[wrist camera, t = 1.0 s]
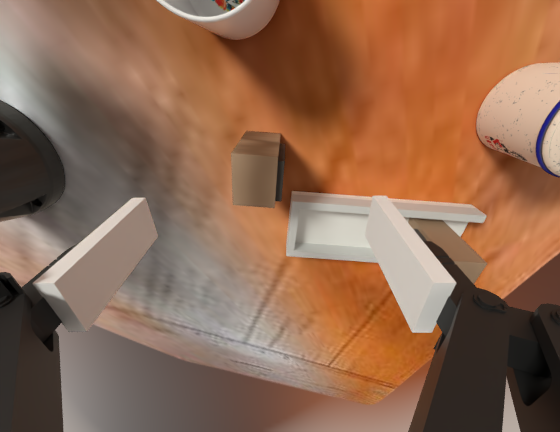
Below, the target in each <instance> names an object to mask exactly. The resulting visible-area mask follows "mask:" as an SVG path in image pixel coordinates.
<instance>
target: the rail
mask: <svg viewBox="0 0 560 432" xmlns="http://www.w3.org/2000/svg"><path fill="white" fill-rule="evenodd" d="M388 199H389V200H390V201H391V202H392V203H393V205H394V206H395V207H396V208H397V210H398V211H399V212H400V213H401V215H402V216H403V217H404V218H405V220H406V221H407V222H408V223H409V225H410V226H411V227H412V228H413V229H414V231H415V232H416V233H417V234H418V236H419V237H420V238H421V239H422V241H432V242H433V243H435V244H436V245H438V246H439V247H441V248H442V249H443V250H444V251H445V252H446V253H447V254H448V256H449V258H451V259H452V260H453V261H454V262H455V264H456V265H457V266H458V267H459V268H460V269H461V270H462V271H463V273H464V274H465V275H466V276H467V277H468V278H469V279H470V281H471V282H472V283H473V284H474V283H475V281H476V280H477V278H478V277H479V275H480V274H481V272H482V271H483V269H484V268H485V266H486V265H487V263H486V262H485V261H484V260H483V259H482V258H481V257H480V256H479V255H478V254H477V253H476V252H475V251H474V250H473V249H472V248H471V247H470V246H469V245H468V244H467V243H466V242H465V241H464V240H463V239H462V238H461V235H462V233H463V231H464V230H465V228H466V226H467V224H468V222H477V223H483V222H484V220H485V219H486V217H487V216H486V215H485V214H483V213H482V212H481V211H479V210H478V209H477V208H475V207H474V206H473V205H470V204H457V203H444V202H431V201H418V200H405V199H392V198H388ZM371 202H372V197H365V196H352V195H339V194H326V193H313V192H300V191H292V194H291V203H290V213H289V222H288V232H287V241H286V256H293V257H307V258H320V259H334V260H348V261H361V262H375V263H378V261H377V259H376V257H375V255H374V253H373V251H372V249H371V247H370V245H369V243H368V241H367V239H366V237H365V232H366V227H367V222H368V217H369V212H370V207H371Z"/></svg>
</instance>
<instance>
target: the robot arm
mask: <svg viewBox="0 0 560 432" xmlns="http://www.w3.org/2000/svg"><path fill="white" fill-rule="evenodd" d="M64 185H65V177H64V171H63V167H62V164H61V161H60V159H59V157H58V155H57V153H56V151H55V149H54V148H53V146H52V145H51V143H50V142H49V140H48V139H47V138H46V137H45V135H44V134H43V133H42V132H41V131H40V130H39V129H38V128H37V127H36V126H35V125H34V124H33V123H32V122H31V121H30V120H29V119H28V118H26V117H25V116H24V115H23V114H21V113H20V112H18V111H17V110H16V109H14V108H13V107H11V106H9V105H8V104H6V103H4V102H2V101H0V222H1V221H6V220H11V219H15V218H20V217H25V216H29V215H32V214H35V213H38V212H40V211H42V210H43V209H45V208H47V207H49V206H50V205H52V204H54V203H55V202H56V201H57V200H58V199H59V198H60V197H61V195H62V193H63V190H64ZM157 237H158V234H157V231H156V228H155V225H154V222H153V219H152V216H151V213H150V210H149V207H148V204H147V201H146V198H132V199H130V200H129V201H128V202H127V203H126V204H125V205H123V206H122V207H121V208H120V209H119V210H118V211H116V212H115V213H114V214H113V215H112V216H111V217H109V218H108V219H107V220H106V221H105V222H104V223H102V224H101V225H100V226H99V227H98V228H97V229H95V230H94V231H93V232H92V233H91V234H89V235H88V236H87V237H86V238H85V239H84V240H82V241H81V242H80V243H78V244H77V245H75V246H73V247H71V248H69V249H68V250H66V251H65V252H64V253H62V254H61V255H60V256H59V257H58V258H57V260H54V261H53V262H52V263H50V264H49V266H47V267H46V268H44V269H43V270H42V271H41V272H40V273H38V274H37V275H36V276H35V277H34V278H33V279H31V280H30V281H29V282H28V283H27V284H25V285H24V286H23V287H22V288H21V287H20V285H19V284H18V283H17V282H16V280H15V279H14V278H13V276H12V275H11V274H10V273H6V272H1V273H0V432H63V415H62V393H61V375H60V374H61V373H60V353H59V336H58V334H57V332H56V331H55V329H56V328H57V327H58V326H59V325H60V323H61V322H62V324H63V325H64V326H65V328H66V329H67V330H68V332H87V331H88V330H89V328H90V327H91V326H92V324H93V323H94V322H95V320H96V319H97V318H98V316H99V315H100V314H101V312H102V311H103V310H104V308H105V307H106V306H107V304H108V303H109V302H110V300H111V299H112V298H113V296H114V295H115V294H116V292H117V291H118V290H119V288H120V287H121V286H122V284H123V283H124V282H125V280H126V279H127V278H128V276H129V275H130V274H131V272H132V271H133V270H134V268H135V267H136V266H137V264H138V263H139V261H140V260H141V259H142V257H143V256H144V255H145V253H146V252H147V251H148V249H149V248H150V247H151V245H152V244H153V243H154V241H155V240H156V239H157ZM365 237H366V239H367V241H368V243H369V245H370V247H371V249H372V251H373V253H374V255H375V257H376V259H377V261H378V263H379V265H380V267H381V269H382V271H383V273H384V275H385V278H386V280H387V282H388V284H389V286H390V288H391V290H392V292H393V294H394V296H395V298H396V300H397V302H398V304H399V306H400V308H401V310H402V312H403V314H404V317H405V319H406V321H407V323H408V325H409V327H410V329H411V331H412V333H432V331H433V329H434V327H435V325H436V323H437V324H438V326H439V327H440V329H441V331H442V334H441V336H440V338H439V339H438V341H437V343H436V345H435V347H434V349H435V353H434V356H433V359H432V362H431V365H430V368H429V371H428V374H427V377H426V380H425V383H424V386H423V389H422V392H421V395H420V398H419V401H418V404H417V407H416V410H415V413H414V416H413V419H412V422H411V425H410V428H409V431H408V432H502V423H503V411H504V399H505V385H506V376H507V380H508V384H509V388H510V392H511V396H512V399H513V404H514V407H515V411H516V415H517V419H518V423H519V427H520V431H521V432H560V306H558V305H553V304H541V305H540V306H539V307H538V308H537V309H536V311H535V312H530V311H526V310H521V309H517V308H513V307H509V306H508V305H507V304H506V302H505V301H503V300H502V299H501V298H500V297H498V296H497V295H495V294H493V293H491V292H489V291H487V290H483V289H480V288H477V287H476V286H475V285H474V284H473V283H472V282H471V281H470V279H469V278H468V277H467V276H466V275H465V274H464V273H463V271H462V270H461V269H460V268H459V267H458V266H457V265H456V264H455V262H454V261H453V260H452V259H451V258H449V256H448V254H447V253H446V252H445V251H444V250H443V249H442V248H441V247H439V246H438V245H436V244H435V243H433V242H432V241H422V239H421V238H420V237H419V236H418V234H417V233H416V232H415V231H414V229H413V228H412V227H411V226H410V225H409V223H408V222H407V221H406V220H405V218H404V217H403V216H402V215H401V213H400V212H399V211H398V210H397V208H396V207H395V206H394V205H393V203H392V202H391V201H390V200H389V199H388V197H387V196H373V197H372V202H371V207H370V212H369V217H368V222H367V227H366V232H365Z"/></svg>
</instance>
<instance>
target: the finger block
mask: <svg viewBox="0 0 560 432" xmlns="http://www.w3.org/2000/svg"><path fill="white" fill-rule="evenodd" d="M280 135H281V134H280V133H268V132H255V131H246V132H245V134H244V135H243V137H242V138H241V140H240V141H239V143H238V144H237V146H236V147H235V149H234V150H233V152H232V153H231V160H232V192H233V205H241V206H255V207H268V208H275V201H281V199H282V187H283V175H284V163H285V144H282V143H280Z"/></svg>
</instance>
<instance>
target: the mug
mask: <svg viewBox="0 0 560 432" xmlns="http://www.w3.org/2000/svg"><path fill="white" fill-rule="evenodd" d="M156 1H158V2H159V3H160V4H161V5H162V6H164V7H165V8H166V9H168V10H169V11H171V12H173V13H174V14H176V15H178V16H180V17H182V18H184V19H186V20H188V21H190V22H192V23H194V24H196V25H198V26H200V27H202V28H204V29H206V30H208V31H210V32H212V33H214V34H216V35H218V36H220V37H223V38H227V39H233V40H239V39H245V38H249V37H251V36H253V35H255V34H257V33H258V32H260V31H261V30H262V29H263V28H264V27H265V26H266V25H267V24H268V23H269V21H270V20H271V19H272V17H273V15H274V13H275V11H276V9H277V7H278V4H279V1H280V0H156Z"/></svg>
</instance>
